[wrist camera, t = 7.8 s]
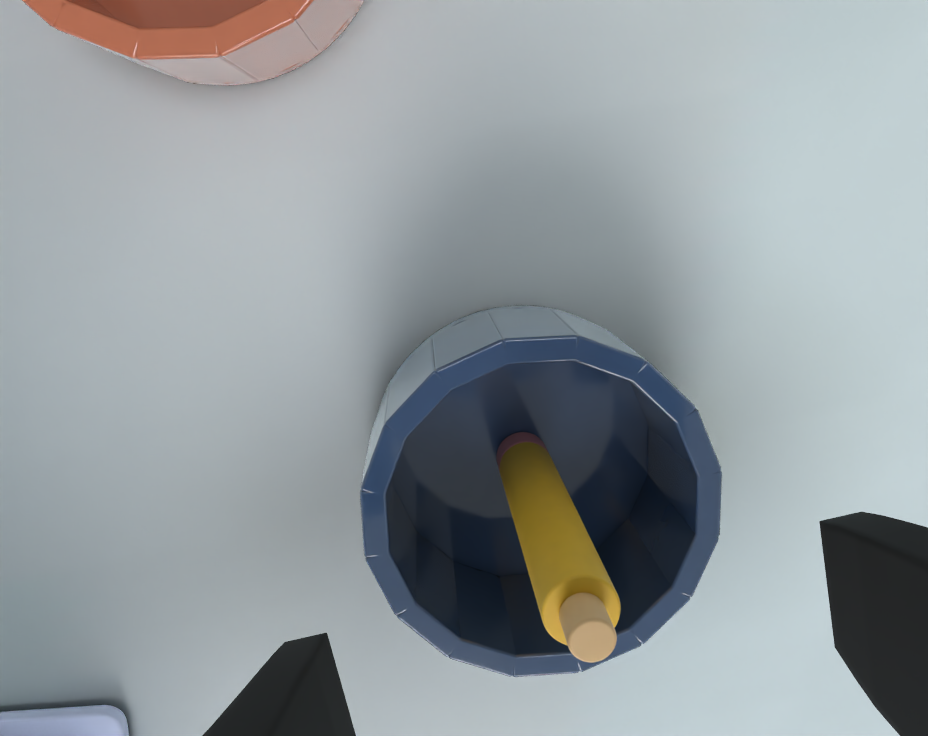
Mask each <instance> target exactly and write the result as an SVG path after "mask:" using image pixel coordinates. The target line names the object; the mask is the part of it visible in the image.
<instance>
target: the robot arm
mask: <svg viewBox="0 0 928 736" xmlns="http://www.w3.org/2000/svg"><path fill="white" fill-rule="evenodd" d="M820 529H821V537H822V546H823V554H824V562H825V570H826V578H827V587H828V595H829V603H830V611H831V619H832V628H833V636H834V644H835V648H836V650H837V651H838V653H839V654H840V656H841V657H842V659H843V660H844V662H845V663H846V665H847V666H848V668H849V670H850V671H851V673H852V674H853V676H854V677H855V679H856V680H857V682H858V683H859V684H860V686H861V687H862V689H863V690H864V692H865V693H866V694H867V696H868V697H869V699H870V700H871V702H872V703H873V704H874V706H875V707H876V708H877V710H878V711H879V712H880V713H881V714H882V715H883V717H884V718H885V719H886V720H887V721H888V722H889V723H890V725H891V726H892V727H893V728H894V729H895V730H896V731H897V733H898V734H899V735H900V736H928V528H927V527H924V526H920V525H916V524H913V523H909V522H905V521H902V520H898V519H894V518H890V517H886V516H881V515H877V514H871V513H865V512H858V513H854V514H849V515H845V516H841V517H836V518H832V519H827V520H823V521H820ZM0 736H129V731H128V724H127V720H126V717H125V715H124V714H123V712H122V711H121V710H120V709H118V708H116V707H114V706H110V705H95V706H80V707H65V708H50V709H35V710H20V711H5V712H0ZM203 736H356V735H355V731H354V728H353V724H352V721H351V717H350V713H349V710H348V706H347V703H346V699H345V696H344V692H343V689H342V685H341V681H340V678H339V674H338V671H337V667H336V664H335V660H334V657H333V653H332V649H331V646H330V642H329V639H328V635H327V633H323V634H319V635H314V636H310V637H305V638H301V639H297V640H292V641H288V642H285V643H284V644H283V645H282V646H281V647H280V648H279V649H278V650H277V651H276V652H275V653H274V654H273V655H272V656H271V657H270V659H269V660H268V661H267V662H266V663H265V664H264V665H263V667H262V668H261V669H260V670H259V671H258V673H257V674H256V675H255V676H254V677H253V678H252V680H251V681H250V682H249V683H248V684H247V686H246V687H245V688H244V689H243V690H242V691H241V693H240V694H239V695H238V696H237V697H236V698H235V699H234V701H233V702H232V703H231V704H230V705H229V706H228V708H227V709H226V710H225V711H224V712H223V713H222V714H221V716H220V717H219V718H218V719H217V720H216V721H215V723H214V724H213V725H212V726H211V727H210V728H209V729H208V730H207V731H206V732H205V733H204V735H203Z"/></svg>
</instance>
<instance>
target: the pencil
mask: <svg viewBox="0 0 928 736" xmlns="http://www.w3.org/2000/svg"><path fill="white" fill-rule="evenodd" d="M496 460H497V465H498V468H499V472H500V475H501V479H502V482H503V486H504V489H505V493H506V496H507V500H508V503H509V507H510V510H511V514H512V517H513V520H514V524H515V527H516V531H517V534H518V538H519V541H520V545H521V548H522V552H523V555H524V559H525V562H526V566H527V569H528V573H529V576H530V580H531V583H532V587H533V590H534V594H535V597H536V601H537V604H538V608H539V611H540V615H541V618H542V622H543V624H544V627H545V629H546V630H547V632H548V633H549V634H550V635H551V636H552V637H553V638H554V639H555V640H557V641H558V642H560V643H562V644H565V645H567V646H568V648H569V650H570V652H571V653H572V654H573V655H574V656H575V657H576V658H578V659H579V660H581V661H584V662H598V661H601V660H603V659H605V658H606V657H608V656H609V655H610V654H611V653H612V651H613V650H614V648H615V645H616V641H617V635H616V631H615V627H616V625H617V623H618V620H619V617H620V611H621V605H620V599H619V596H618V594H617V592H616V590H615V588H614V586H613V584H612V582H611V580H610V578H609V575H608V573H607V571H606V569H605V567H604V565H603V563H602V561H601V559H600V557H599V555H598V553H597V551H596V549H595V547H594V545H593V543H592V541H591V539H590V537H589V534H588V532H587V530H586V528H585V526H584V524H583V522H582V520H581V518H580V516H579V514H578V512H577V510H576V508H575V506H574V504H573V502H572V500H571V498H570V496H569V493H568V491H567V489H566V487H565V485H564V483H563V481H562V479H561V477H560V475H559V473H558V471H557V469H556V467H555V465H554V463H553V461H552V459H551V457H550V455H549V452H548V450H547V448H546V446H545V444H544V443H543V441H542V440H541V439H540V438H539V437H537V436H536V435H534V434H531V433H527V432H518V433H514V434H512V435H510V436H508V437H507V438H505V439H504V440H503V441H502V443H501V444H500V446H499V448H498V450H497V455H496Z"/></svg>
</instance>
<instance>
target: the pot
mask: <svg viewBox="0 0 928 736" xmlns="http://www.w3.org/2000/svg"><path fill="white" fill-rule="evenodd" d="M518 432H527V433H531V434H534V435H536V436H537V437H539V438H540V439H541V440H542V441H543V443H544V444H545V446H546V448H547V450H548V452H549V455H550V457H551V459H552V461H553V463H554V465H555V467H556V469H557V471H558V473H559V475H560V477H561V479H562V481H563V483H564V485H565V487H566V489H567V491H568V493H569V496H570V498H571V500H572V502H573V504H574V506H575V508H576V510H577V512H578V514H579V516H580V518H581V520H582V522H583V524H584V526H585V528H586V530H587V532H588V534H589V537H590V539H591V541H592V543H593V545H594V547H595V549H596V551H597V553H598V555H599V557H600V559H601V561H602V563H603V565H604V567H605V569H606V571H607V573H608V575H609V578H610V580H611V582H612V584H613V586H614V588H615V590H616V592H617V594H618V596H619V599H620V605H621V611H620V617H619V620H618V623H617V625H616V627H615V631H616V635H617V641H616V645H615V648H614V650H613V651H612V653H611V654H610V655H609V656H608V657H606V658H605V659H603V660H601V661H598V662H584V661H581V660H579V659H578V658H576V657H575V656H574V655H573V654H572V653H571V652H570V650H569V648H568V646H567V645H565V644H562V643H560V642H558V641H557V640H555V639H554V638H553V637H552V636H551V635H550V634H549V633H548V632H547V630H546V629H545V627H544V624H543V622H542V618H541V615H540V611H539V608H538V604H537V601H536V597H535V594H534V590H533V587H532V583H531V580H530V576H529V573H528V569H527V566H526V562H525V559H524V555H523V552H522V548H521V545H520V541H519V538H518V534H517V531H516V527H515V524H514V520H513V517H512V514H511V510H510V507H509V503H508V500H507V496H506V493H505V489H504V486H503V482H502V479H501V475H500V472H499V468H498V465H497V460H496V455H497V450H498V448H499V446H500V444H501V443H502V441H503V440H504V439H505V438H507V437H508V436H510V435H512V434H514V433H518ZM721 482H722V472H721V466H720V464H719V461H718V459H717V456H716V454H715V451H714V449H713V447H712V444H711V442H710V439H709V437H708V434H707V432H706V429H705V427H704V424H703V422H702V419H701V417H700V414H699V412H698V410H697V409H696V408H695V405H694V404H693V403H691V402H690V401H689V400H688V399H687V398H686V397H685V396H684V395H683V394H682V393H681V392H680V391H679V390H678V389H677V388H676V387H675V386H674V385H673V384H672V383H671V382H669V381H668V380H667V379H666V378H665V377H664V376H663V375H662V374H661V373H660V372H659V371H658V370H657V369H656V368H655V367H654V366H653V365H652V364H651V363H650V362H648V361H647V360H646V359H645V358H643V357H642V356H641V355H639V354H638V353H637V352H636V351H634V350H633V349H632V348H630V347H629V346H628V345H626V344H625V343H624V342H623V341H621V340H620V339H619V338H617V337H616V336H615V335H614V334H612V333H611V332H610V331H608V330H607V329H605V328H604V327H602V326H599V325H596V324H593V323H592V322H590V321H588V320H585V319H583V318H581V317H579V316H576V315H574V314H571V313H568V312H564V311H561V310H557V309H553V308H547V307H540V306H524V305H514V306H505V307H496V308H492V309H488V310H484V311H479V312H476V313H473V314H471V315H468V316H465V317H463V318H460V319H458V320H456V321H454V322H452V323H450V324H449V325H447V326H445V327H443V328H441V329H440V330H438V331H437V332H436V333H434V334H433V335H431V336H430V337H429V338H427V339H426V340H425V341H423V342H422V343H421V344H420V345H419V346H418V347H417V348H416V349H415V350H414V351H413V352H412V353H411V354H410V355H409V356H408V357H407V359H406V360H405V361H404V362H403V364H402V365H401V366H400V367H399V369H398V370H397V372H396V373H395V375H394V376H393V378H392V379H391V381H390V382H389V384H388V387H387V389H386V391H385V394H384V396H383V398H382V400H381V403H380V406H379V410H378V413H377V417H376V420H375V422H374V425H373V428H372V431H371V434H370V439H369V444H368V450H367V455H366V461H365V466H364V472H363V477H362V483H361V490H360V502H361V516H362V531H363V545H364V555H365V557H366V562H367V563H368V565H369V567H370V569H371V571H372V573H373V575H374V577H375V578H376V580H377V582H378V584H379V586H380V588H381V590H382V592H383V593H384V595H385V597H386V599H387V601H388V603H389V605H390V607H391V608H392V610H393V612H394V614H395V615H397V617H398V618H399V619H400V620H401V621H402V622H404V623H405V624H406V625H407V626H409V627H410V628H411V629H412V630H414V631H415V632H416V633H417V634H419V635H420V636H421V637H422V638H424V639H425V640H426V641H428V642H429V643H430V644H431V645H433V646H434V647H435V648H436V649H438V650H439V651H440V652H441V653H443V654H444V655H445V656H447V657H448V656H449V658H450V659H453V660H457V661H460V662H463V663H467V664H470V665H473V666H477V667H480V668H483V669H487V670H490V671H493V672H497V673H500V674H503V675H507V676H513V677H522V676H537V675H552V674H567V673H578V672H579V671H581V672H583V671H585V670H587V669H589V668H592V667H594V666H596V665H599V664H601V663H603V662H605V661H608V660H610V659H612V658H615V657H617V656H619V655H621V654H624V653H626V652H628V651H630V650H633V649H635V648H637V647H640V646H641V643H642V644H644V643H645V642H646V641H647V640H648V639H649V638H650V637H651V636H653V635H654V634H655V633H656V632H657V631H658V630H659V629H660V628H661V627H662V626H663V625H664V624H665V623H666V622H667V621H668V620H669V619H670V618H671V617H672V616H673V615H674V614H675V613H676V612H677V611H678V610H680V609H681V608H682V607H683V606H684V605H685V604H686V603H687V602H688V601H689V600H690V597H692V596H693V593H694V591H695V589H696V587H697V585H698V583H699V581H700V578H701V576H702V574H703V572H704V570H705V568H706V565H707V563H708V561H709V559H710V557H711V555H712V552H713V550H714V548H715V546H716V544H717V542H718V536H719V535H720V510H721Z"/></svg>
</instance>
